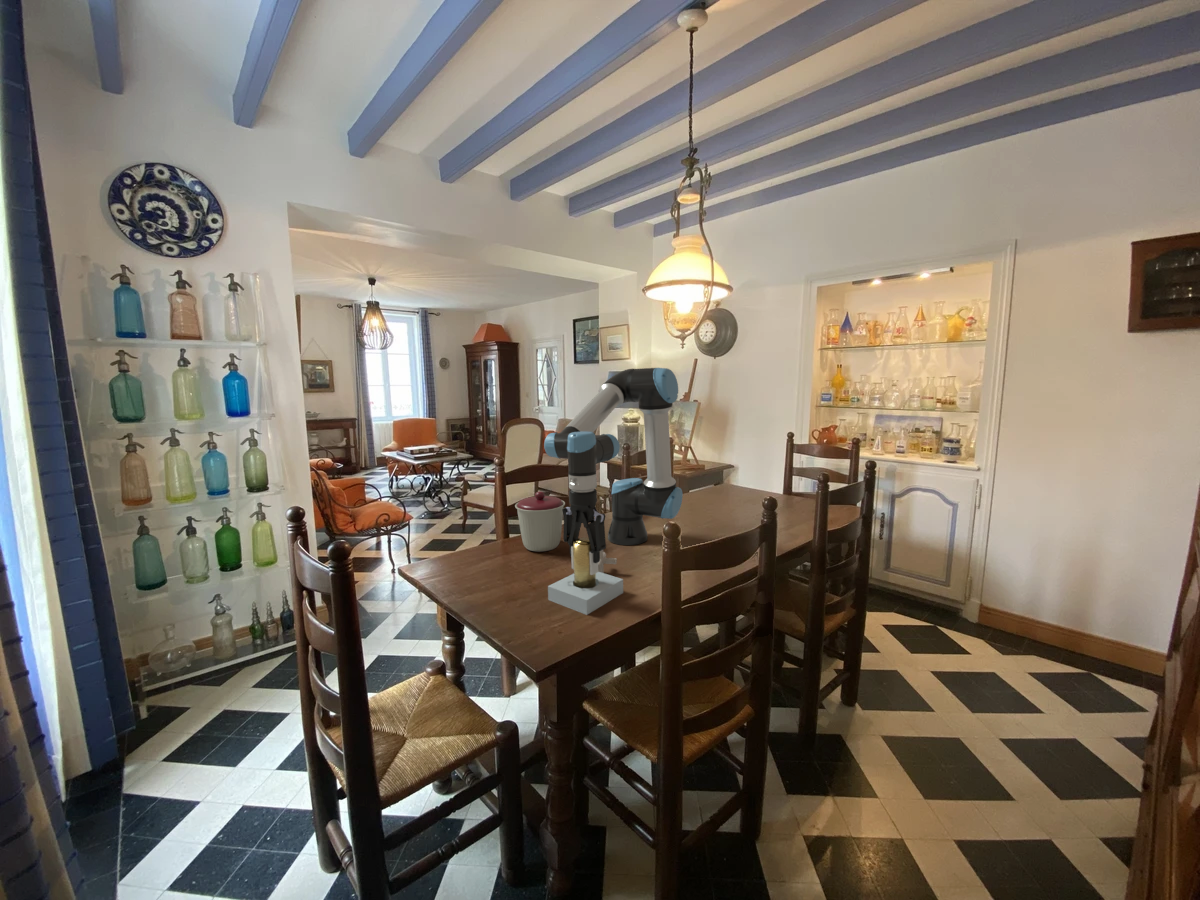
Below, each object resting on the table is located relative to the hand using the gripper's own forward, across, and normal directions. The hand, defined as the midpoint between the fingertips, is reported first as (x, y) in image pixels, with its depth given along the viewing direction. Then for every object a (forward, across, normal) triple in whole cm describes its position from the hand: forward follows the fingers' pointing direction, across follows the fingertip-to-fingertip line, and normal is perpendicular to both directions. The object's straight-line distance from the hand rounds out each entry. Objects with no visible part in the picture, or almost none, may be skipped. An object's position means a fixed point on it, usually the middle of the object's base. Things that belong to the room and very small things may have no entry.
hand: (584, 570), depth 132 cm
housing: (+9, 0, 0) cm, 9 cm away
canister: (+9, -40, +22) cm, 47 cm away
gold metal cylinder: (+5, 0, 0) cm, 5 cm away
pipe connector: (+9, -7, +15) cm, 19 cm away
